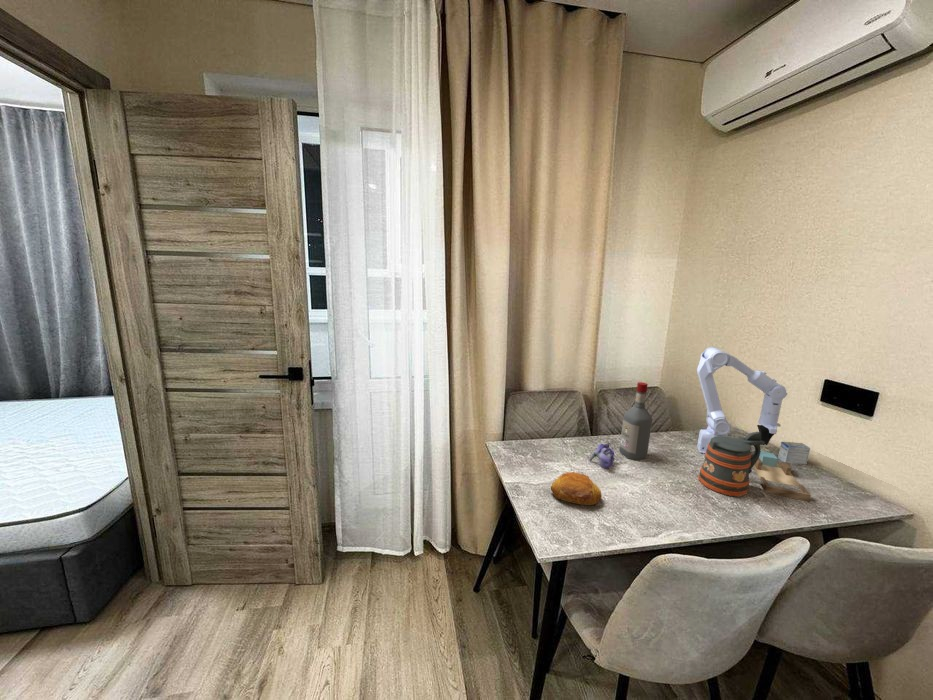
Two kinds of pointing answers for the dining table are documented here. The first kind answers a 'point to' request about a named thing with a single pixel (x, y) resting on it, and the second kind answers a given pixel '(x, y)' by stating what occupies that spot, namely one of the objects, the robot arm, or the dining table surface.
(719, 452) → the beer stein
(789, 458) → the medicine box
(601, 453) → the flower
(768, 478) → the deck
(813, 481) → the dining table surface
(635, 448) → the liquor
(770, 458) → the block
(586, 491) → the bread loaf
